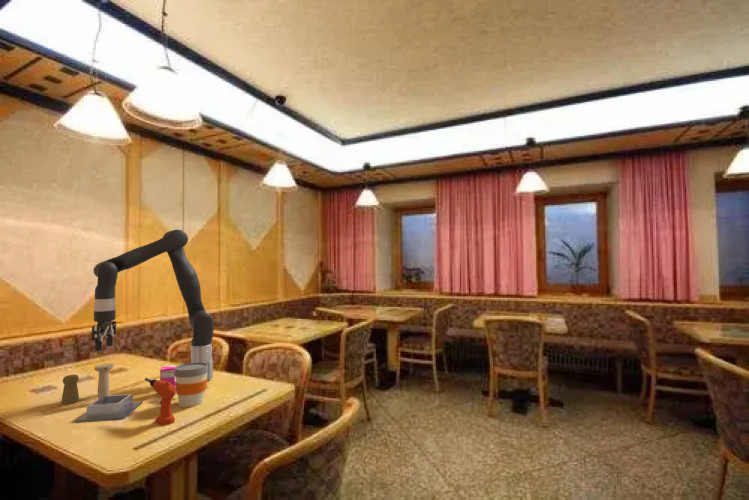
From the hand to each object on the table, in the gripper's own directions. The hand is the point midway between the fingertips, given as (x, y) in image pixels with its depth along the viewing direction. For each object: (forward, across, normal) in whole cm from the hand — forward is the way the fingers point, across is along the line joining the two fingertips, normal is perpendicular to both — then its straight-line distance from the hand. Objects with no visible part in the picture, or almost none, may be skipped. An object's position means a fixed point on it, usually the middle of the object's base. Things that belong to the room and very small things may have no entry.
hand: (104, 348), depth 158 cm
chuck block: (+22, -13, -9) cm, 27 cm away
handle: (+22, 0, 0) cm, 22 cm away
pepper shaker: (+22, +3, +14) cm, 27 cm away
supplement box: (+22, +6, -23) cm, 33 cm away
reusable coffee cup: (+22, -9, -37) cm, 44 cm away
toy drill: (+22, -24, -30) cm, 44 cm away
